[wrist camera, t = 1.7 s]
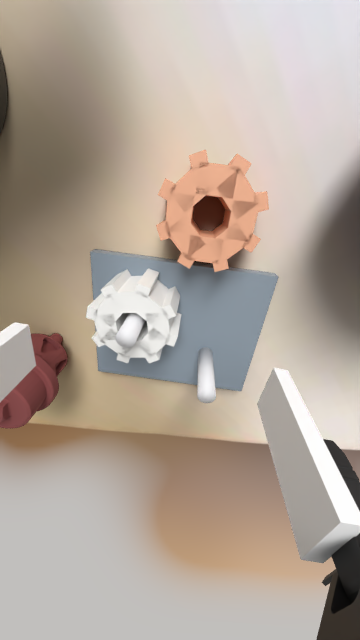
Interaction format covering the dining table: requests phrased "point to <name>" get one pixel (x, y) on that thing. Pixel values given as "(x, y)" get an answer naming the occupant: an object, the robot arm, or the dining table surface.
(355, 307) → the dining table surface
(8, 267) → the dining table surface
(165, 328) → the white gear
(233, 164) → the terracotta gear
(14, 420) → the mechanical component
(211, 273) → the gear board
